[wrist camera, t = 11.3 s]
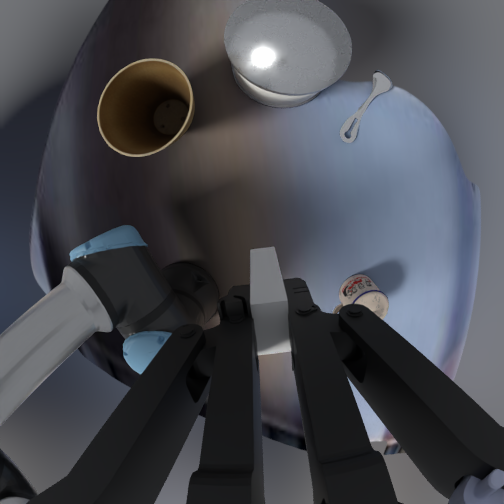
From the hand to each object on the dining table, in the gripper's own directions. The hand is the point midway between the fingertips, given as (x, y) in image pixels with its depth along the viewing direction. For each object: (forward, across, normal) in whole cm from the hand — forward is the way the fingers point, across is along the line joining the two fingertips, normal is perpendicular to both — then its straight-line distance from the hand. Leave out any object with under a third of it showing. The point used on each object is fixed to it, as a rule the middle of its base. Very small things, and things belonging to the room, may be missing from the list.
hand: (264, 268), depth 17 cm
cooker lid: (+24, -8, -26) cm, 36 cm away
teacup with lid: (+37, -19, +25) cm, 48 cm away
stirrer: (+37, -24, -16) cm, 47 cm away
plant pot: (+37, +14, -17) cm, 43 cm away
